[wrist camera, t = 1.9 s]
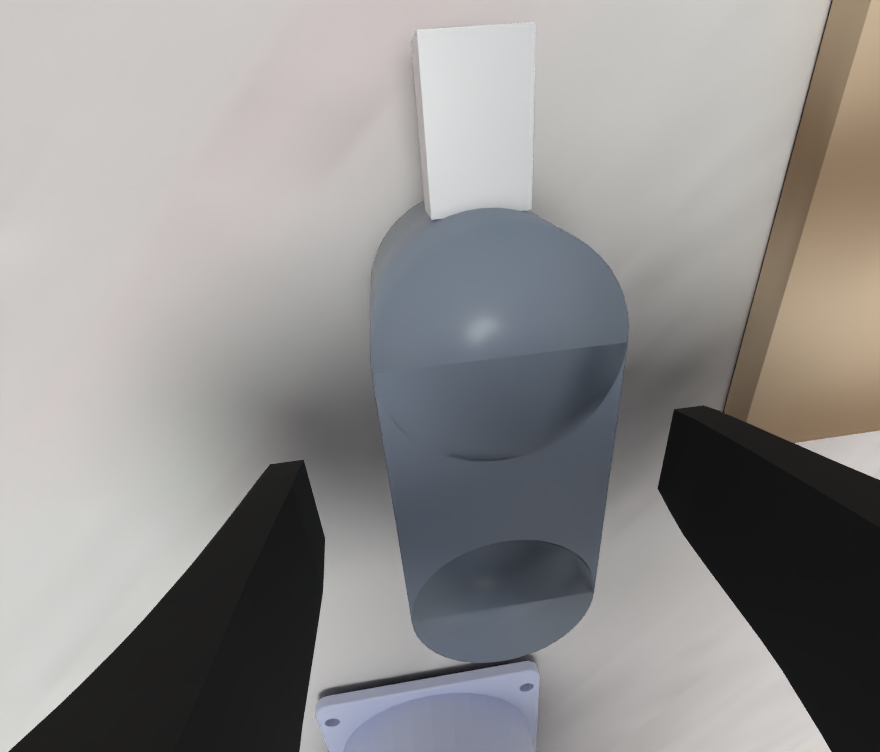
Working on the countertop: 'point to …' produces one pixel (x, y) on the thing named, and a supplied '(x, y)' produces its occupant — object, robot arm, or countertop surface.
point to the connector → (492, 366)
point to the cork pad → (823, 255)
